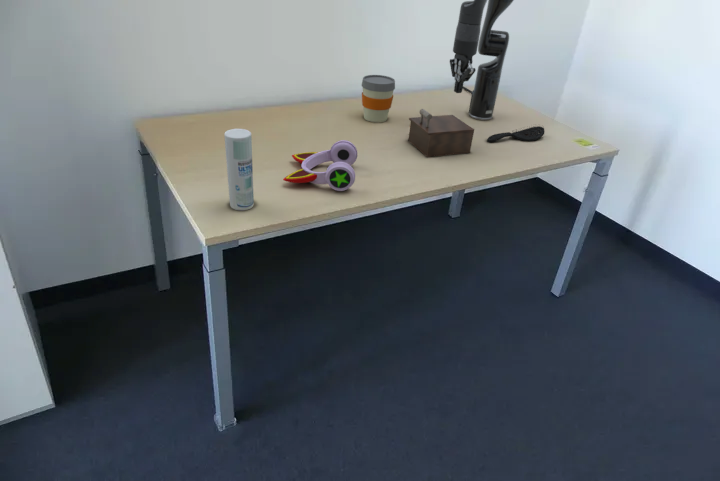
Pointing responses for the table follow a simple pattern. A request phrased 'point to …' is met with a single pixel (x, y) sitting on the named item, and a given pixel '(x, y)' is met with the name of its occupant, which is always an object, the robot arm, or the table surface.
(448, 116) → the case lid
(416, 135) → the case
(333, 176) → the headphones
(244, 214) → the table surface
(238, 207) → the spray can
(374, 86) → the reusable coffee cup
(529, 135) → the hairbrush
